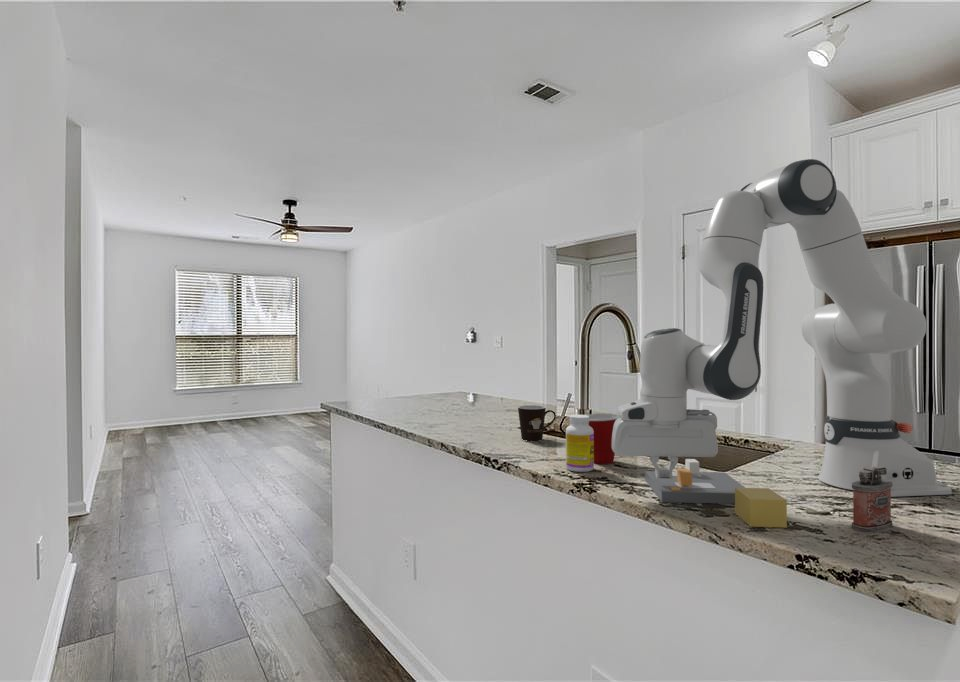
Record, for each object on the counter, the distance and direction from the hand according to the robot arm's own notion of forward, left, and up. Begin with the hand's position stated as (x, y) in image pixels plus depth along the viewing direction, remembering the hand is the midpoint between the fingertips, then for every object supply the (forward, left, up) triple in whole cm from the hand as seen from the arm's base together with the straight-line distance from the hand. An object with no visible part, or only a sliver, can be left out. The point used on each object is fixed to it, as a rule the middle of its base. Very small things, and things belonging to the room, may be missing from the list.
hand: (663, 477), depth 104 cm
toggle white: (-8, -8, -1) cm, 12 cm away
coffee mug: (+25, -53, -4) cm, 59 cm away
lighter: (-30, +15, -4) cm, 34 cm away
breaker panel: (-7, -3, -3) cm, 8 cm away
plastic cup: (+9, -27, -4) cm, 29 cm away
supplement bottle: (+15, -19, -4) cm, 24 cm away
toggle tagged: (-4, 0, -1) cm, 4 cm away
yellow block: (-13, +13, -3) cm, 19 cm away
